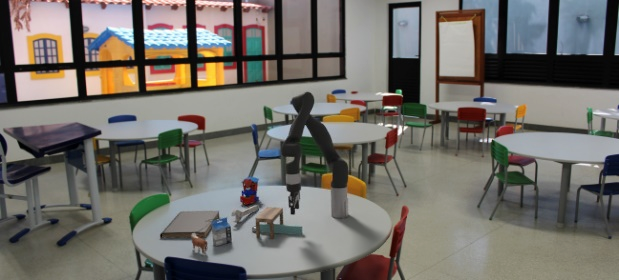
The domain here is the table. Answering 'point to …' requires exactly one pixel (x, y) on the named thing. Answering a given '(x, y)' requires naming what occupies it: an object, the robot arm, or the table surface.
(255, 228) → the puck
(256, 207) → the wrench
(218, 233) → the label tape box
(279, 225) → the long teal stick
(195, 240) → the bull figurine
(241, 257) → the table surface
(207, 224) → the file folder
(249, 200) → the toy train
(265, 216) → the bench
